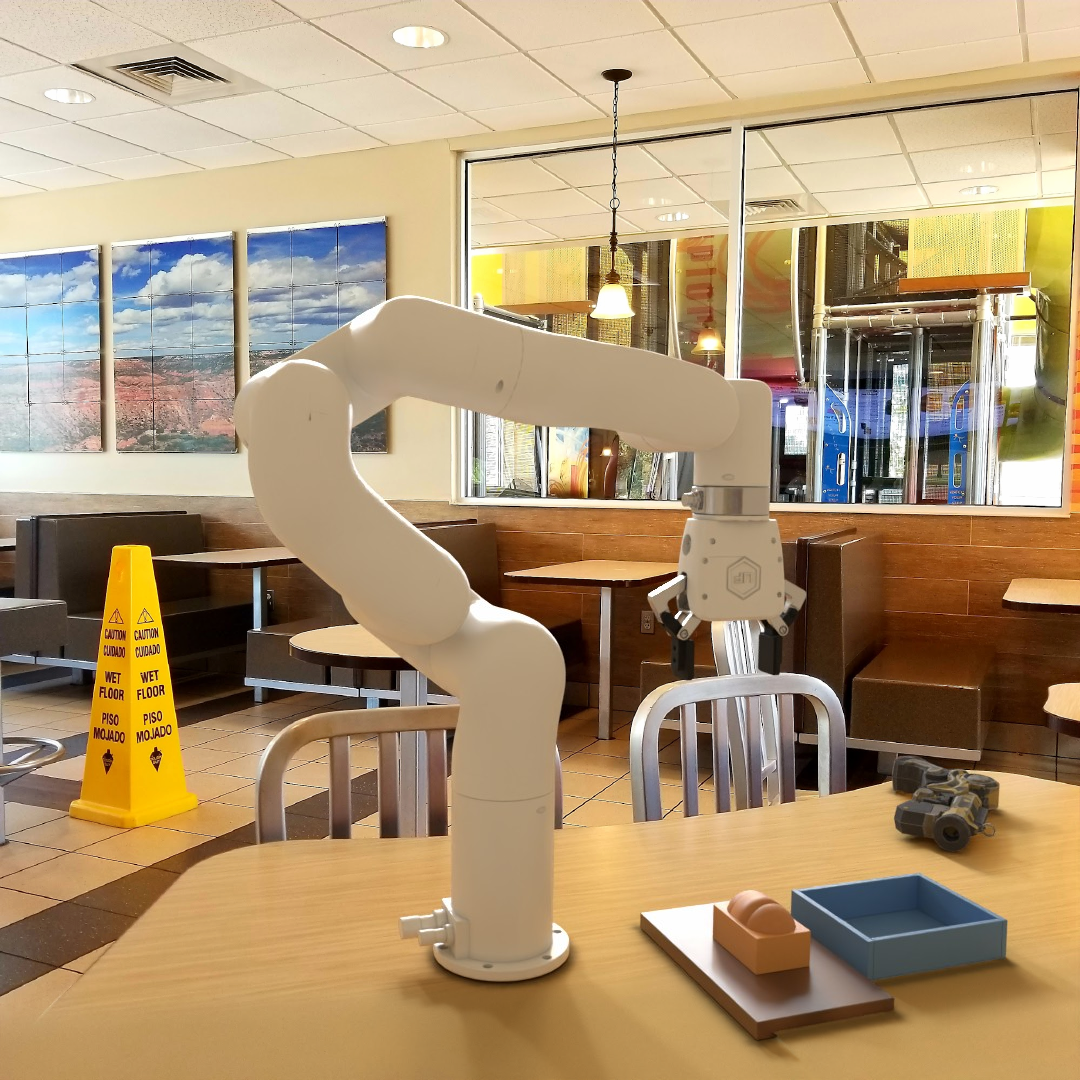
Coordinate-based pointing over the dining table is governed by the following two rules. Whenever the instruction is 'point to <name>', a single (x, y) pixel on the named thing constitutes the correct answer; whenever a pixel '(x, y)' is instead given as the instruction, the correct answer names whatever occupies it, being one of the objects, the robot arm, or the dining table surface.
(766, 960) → the bread
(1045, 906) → the dining table surface
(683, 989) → the dining table surface
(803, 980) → the board
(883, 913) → the bin
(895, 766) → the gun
